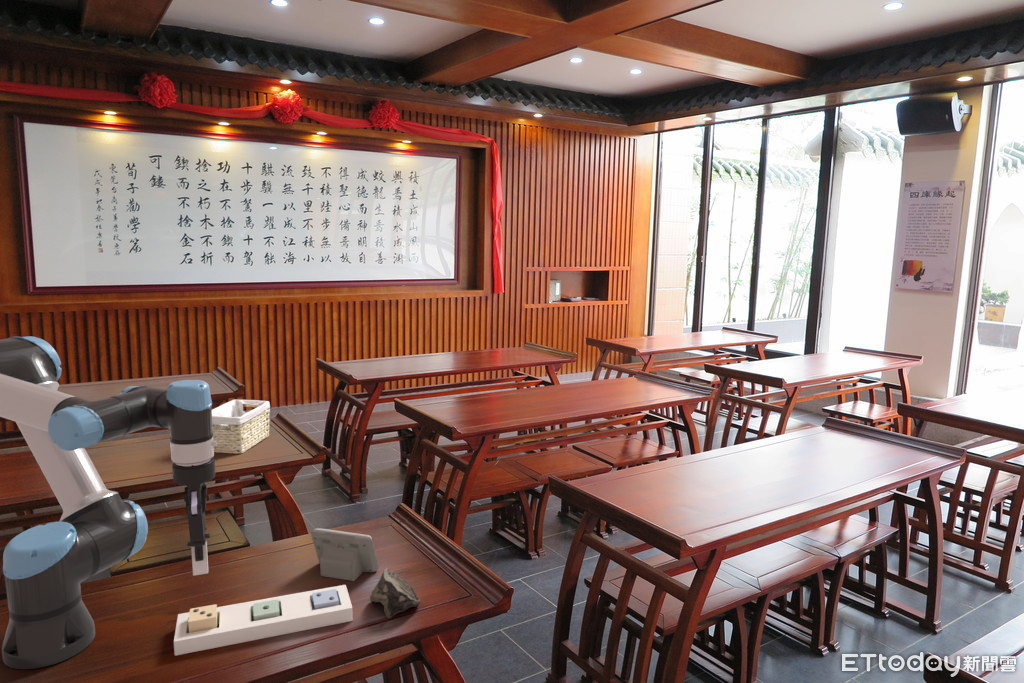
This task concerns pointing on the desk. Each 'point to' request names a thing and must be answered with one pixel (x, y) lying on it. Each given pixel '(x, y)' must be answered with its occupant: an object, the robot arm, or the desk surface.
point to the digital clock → (344, 553)
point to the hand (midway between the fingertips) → (200, 572)
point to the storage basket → (240, 425)
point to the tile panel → (262, 621)
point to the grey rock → (394, 594)
